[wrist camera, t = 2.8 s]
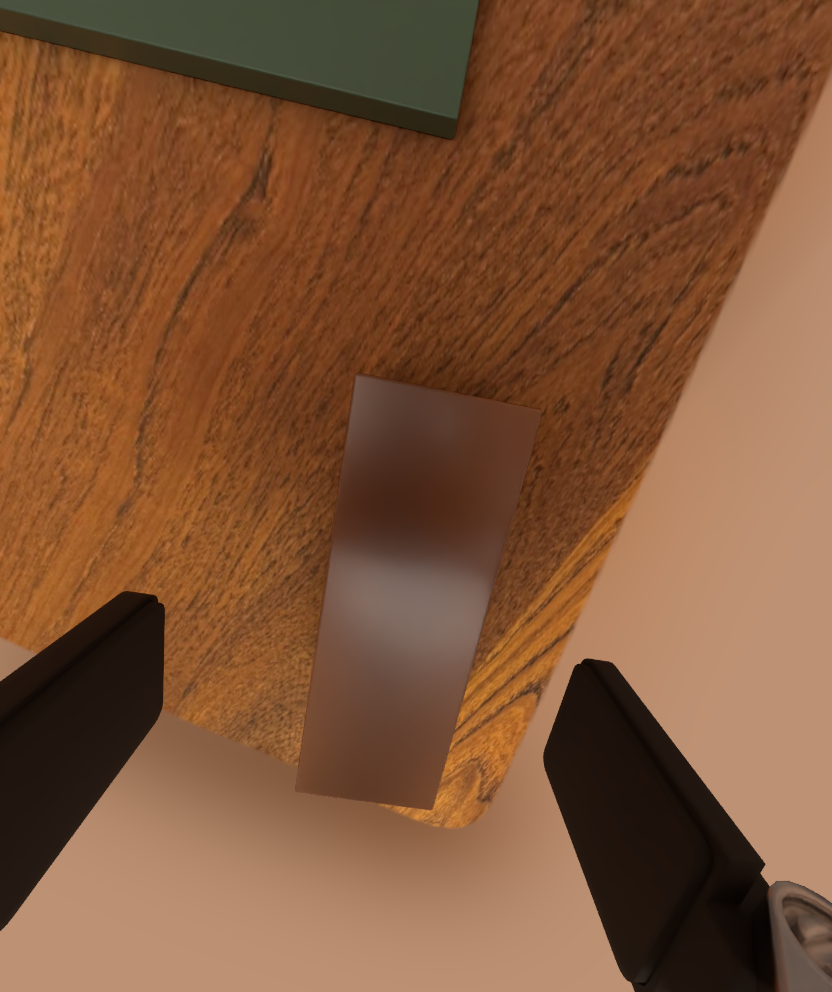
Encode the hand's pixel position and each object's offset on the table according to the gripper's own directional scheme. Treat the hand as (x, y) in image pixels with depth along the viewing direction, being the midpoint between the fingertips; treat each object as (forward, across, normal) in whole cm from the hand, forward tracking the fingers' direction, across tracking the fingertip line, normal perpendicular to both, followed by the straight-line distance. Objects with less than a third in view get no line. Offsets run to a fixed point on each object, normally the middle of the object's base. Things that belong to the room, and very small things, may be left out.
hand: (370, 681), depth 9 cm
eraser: (+7, -1, 0) cm, 8 cm away
